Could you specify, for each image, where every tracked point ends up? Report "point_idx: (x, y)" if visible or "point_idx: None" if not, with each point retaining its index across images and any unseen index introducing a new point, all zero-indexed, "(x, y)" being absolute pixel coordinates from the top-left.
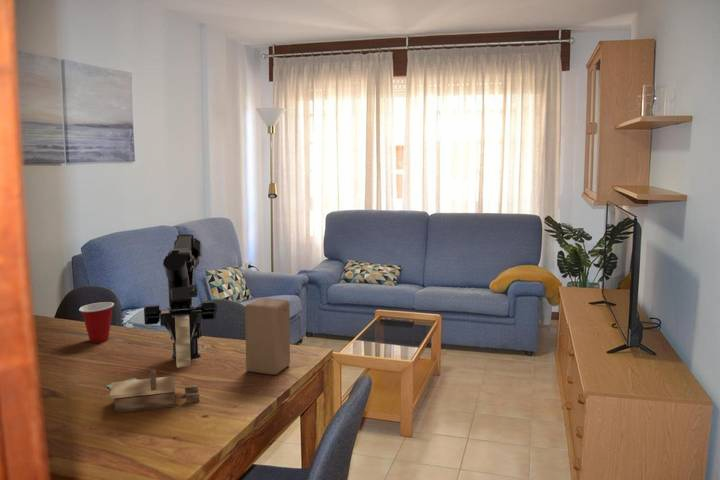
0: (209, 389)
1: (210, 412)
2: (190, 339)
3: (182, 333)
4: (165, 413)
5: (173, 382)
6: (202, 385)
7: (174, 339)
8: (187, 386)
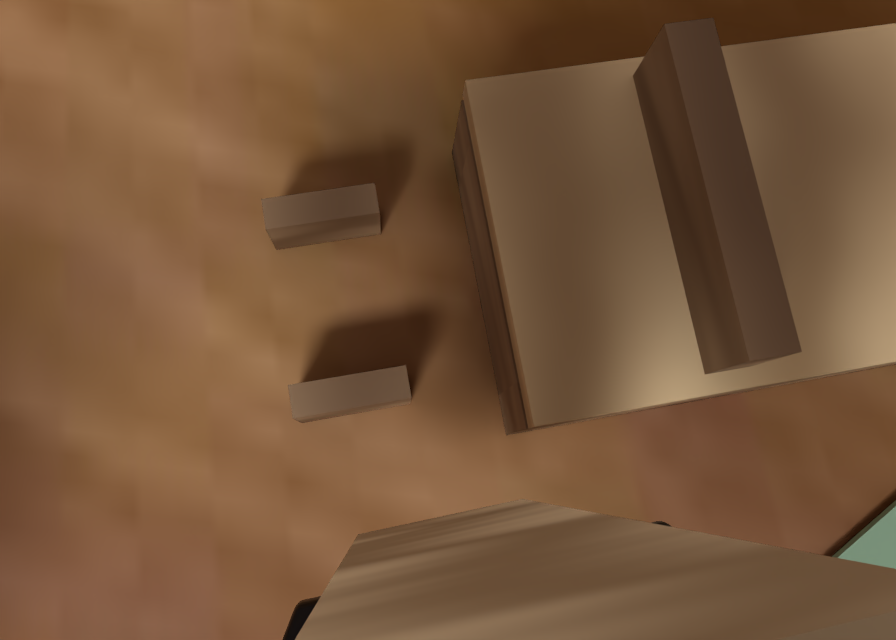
0: (200, 487)
1: (173, 13)
2: (317, 598)
3: (508, 562)
4: (505, 45)
5: (506, 243)
6: (272, 601)
7: (668, 524)
8: (387, 394)
